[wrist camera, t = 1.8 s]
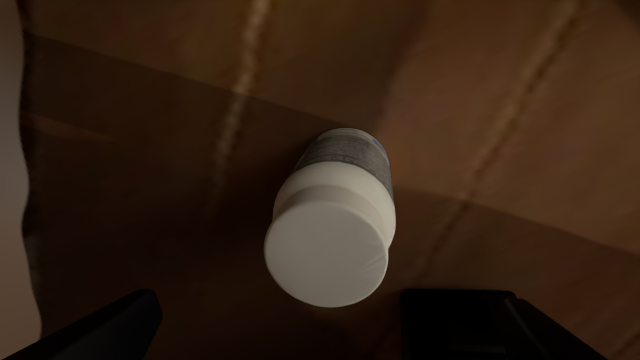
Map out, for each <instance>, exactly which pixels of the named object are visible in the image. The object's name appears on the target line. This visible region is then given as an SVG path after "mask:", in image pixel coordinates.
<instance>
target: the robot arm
mask: <svg viewBox="0 0 640 360" xmlns="http://www.w3.org/2000/svg"><path fill="white" fill-rule="evenodd" d="M407 297H412V298H411V299H406V298H407ZM400 310H401V357H402V360H608V359H606V358H605V357H604V356H602V355H601V354H600V353H598V352H597V351H595V350H594V349H593V348H591V347H590V346H589V345H587V344H586V343H584V342H583V341H582V340H580V339H579V338H577V337H576V336H575V335H573V334H572V333H571V332H569V331H568V330H566V329H565V328H564V327H562V326H561V325H559V324H558V323H557V322H555V321H554V320H553V319H551V318H550V317H548V316H547V315H546V314H544V313H543V312H542V311H540V310H539V309H537V308H536V307H535V306H533V305H532V304H530V303H529V302H528V301H526V300H524V299H519V298H517V297H516V295H515V294H514V293H513V292H510V291H481V290H431V289H405V290H403V291H402V292H401V294H400ZM162 316H163V315H162V310H161V307H160V304H159V301H158V298H157V295H156V293H155V291H154V290H151V289H139V290H136V291H134V292H132V293H130V294H128V295H126V296H124V297H123V298H121V299H119V300H117V301H115V302H113V303H111V304H109V305H107V306H105V307H103V308H101V309H99V310H97V311H95V312H93V313H91V314H90V315H88V316H86V317H84V318H82V319H80V320H78V321H76V322H74V323H72V324H70V325H68V326H66V327H64V328H62V329H60V330H58V331H57V332H55V333H53V334H51V335H49V336H47V337H45V338H43V339H41V340H39V341H37V342H35V343H33V344H31V345H30V346H27V347H25V348H24V349H22V350H20V351H18V352H16V353H14V354H12V355H10V356H8V357H6V358H4V359H2V360H143V358H144V356H145V354H146V352H147V350H148V348H149V346H150V344H151V342H152V340H153V338H154V336H155V334H156V332H157V330H158V327H159V325H160V323H161V321H162Z"/></svg>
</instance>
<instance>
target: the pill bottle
mask: <svg viewBox="0 0 640 360" xmlns="http://www.w3.org/2000/svg"><path fill="white" fill-rule="evenodd" d="M395 226H396V215H395V207H394V199H393V188H392V180H391V173H390V165H389V160H388V157H387V155H386V152H385V150H384V149H383V147H382V146H381V145H380V143H379V142H378V141H377V140H376V139H375V138H373V137H372V136H371V135H369V134H367V133H366V132H364V131H361V130H358V129H353V128H338V129H333V130H329V131H327V132H325V133H323V134H322V135H320V136H318V137H317V138H316V139H315V140H314V141H313V142H312V143H311V144H310V146H309V147H308V148H307V150H306V151H305V153H304V154H303V155H302V157H301V159H300V160H299V162H298V163H297V164H296V166H295V168H294V169H293V171H292V172H291V174H290V175H289V177H288V178H287V179H286V181H285V182H284V184H283V185H282V187H281V188H280V190H279V192H278V194H277V197H276V200H275V203H274V209H273V221H272V223H271V225H270V226H269V228H268V231H267V233H266V236H265V241H264V258H265V262H266V265H267V268H268V270H269V272H270V274H271V275H272V277H273V279H274V280H275V281H276V282H277V284H278V285H279V286H280V287H281V288H282V289H283V290H284V291H286V292H287V293H288V294H290V295H291V296H293V297H294V298H296V299H298V300H301V301H303V302H305V303H308V304H311V305H315V306H320V307H342V306H346V305H350V304H353V303H356V302H358V301H361V300H362V299H364V298H366V297H367V296H369V295H370V294H371V293H372V292H373V291H374V290H375V289H376V288H377V287H378V286H379V285H380V283H381V282H382V280H383V278H384V275H385V272H386V269H387V265H388V248H389V246H390V244H391V242H392V240H393V237H394V233H395Z"/></svg>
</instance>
